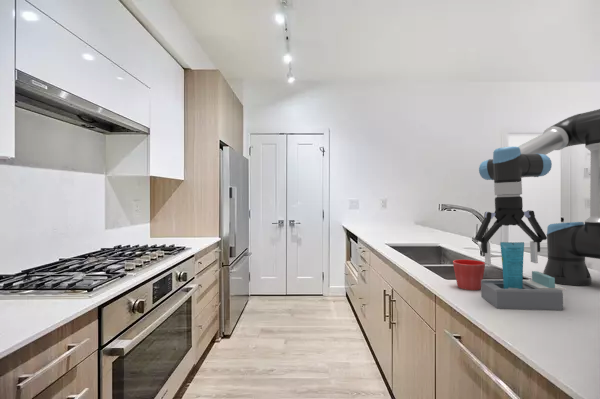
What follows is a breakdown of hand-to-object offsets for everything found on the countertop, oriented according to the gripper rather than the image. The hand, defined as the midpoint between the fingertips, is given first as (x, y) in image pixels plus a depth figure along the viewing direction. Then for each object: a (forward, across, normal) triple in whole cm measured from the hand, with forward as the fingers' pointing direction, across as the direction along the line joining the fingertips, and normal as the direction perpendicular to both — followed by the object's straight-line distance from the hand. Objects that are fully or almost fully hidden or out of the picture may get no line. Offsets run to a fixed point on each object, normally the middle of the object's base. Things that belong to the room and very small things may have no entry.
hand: (510, 262), depth 109 cm
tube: (+13, 0, 0) cm, 13 cm away
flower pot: (+13, +7, -18) cm, 23 cm away
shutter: (+8, -9, 0) cm, 12 cm away
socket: (+13, -2, 0) cm, 13 cm away
